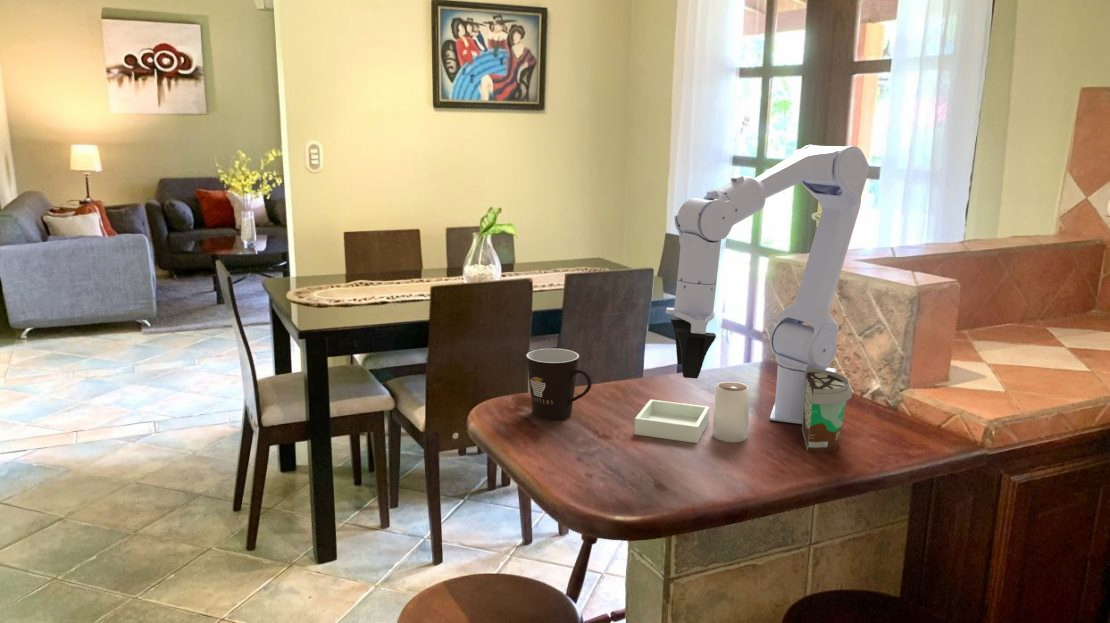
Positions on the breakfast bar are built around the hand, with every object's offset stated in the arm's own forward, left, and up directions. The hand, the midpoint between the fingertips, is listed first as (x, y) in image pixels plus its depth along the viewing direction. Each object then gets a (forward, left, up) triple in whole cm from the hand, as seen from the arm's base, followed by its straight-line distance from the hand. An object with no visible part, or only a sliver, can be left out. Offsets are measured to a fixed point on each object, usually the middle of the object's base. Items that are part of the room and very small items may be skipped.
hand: (687, 370), depth 123 cm
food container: (-20, -7, -11) cm, 24 cm away
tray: (+3, -4, -11) cm, 12 cm away
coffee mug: (+22, -2, -11) cm, 25 cm away
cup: (-6, -4, -11) cm, 13 cm away
